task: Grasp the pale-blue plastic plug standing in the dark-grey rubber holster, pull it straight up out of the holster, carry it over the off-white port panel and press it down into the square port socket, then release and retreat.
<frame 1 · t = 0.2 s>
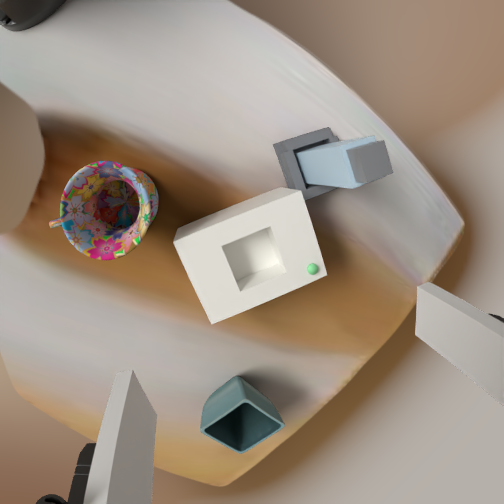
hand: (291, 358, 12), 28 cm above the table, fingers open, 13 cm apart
plug: (312, 163, 38), point 1 cm above the table, touching holster
port panel: (243, 242, 39), on the table
holster: (310, 163, 38), on the table
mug: (117, 203, 35), on the table
flower pot: (234, 390, 45), on the table
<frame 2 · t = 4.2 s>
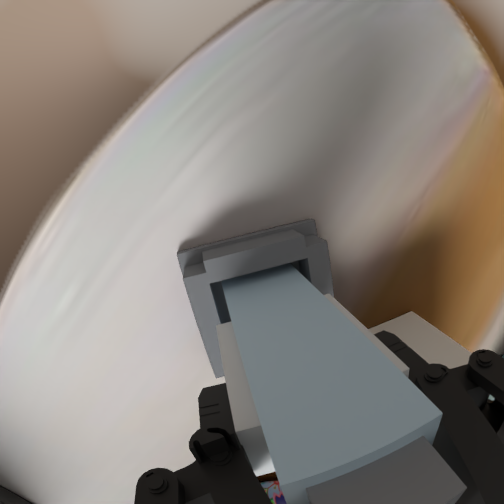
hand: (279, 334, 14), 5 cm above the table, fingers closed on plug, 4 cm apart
plug: (261, 301, 18), point 1 cm above the table, touching gripper, holster
port panel: (359, 397, 23), on the table
holster: (259, 297, 18), on the table
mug: (262, 498, 25), on the table
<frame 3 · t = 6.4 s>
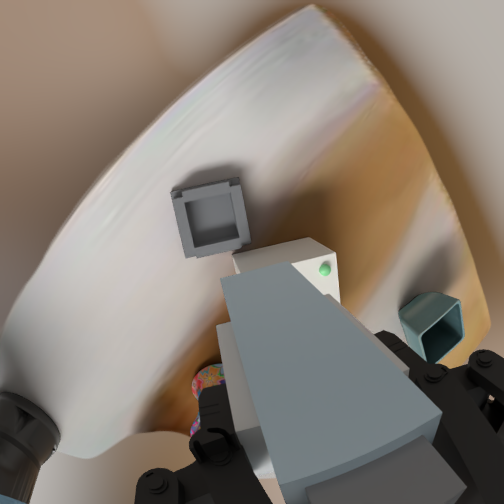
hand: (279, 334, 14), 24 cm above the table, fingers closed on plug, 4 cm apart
plug: (261, 300, 18), point 20 cm above the table, touching gripper
port panel: (279, 296, 40), on the table
holster: (211, 217, 36), on the table
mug: (220, 388, 42), on the table
flower pot: (410, 313, 46), on the table
when the fingers open (10 cm above the table, at t = 8.9 s): plug stays where it is, resting on port panel.
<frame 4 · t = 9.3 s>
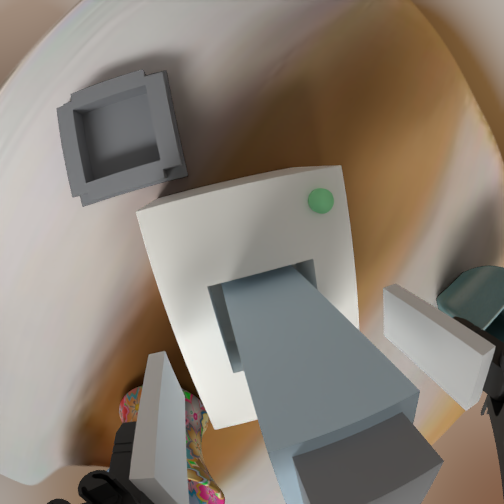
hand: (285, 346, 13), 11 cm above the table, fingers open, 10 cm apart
plug: (257, 294, 19), point 4 cm above the table, touching port panel
port panel: (246, 272, 23), on the table
holster: (122, 137, 19), on the table
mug: (166, 419, 26), on the table
flower pot: (451, 300, 29), on the table
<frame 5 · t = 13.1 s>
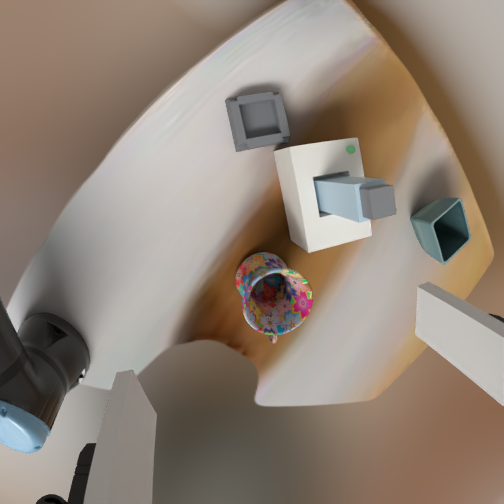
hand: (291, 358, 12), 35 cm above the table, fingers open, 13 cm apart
plug: (323, 191, 42), point 4 cm above the table, touching port panel
port panel: (312, 190, 46), on the table
holster: (256, 121, 42), on the table
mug: (261, 284, 49), on the table
flower pot: (421, 222, 52), on the table
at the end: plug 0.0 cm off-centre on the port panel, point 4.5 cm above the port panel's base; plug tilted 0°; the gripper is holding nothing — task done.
